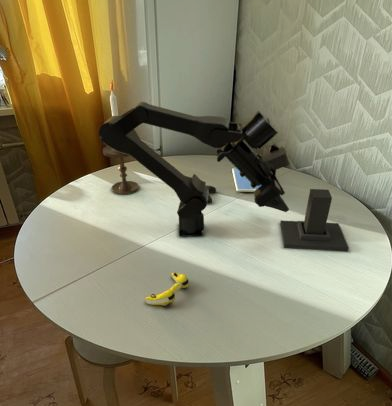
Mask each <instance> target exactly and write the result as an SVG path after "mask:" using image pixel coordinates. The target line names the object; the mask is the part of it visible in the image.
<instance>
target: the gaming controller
mask: <svg viewBox="0 0 392 406" xmlns="http://www.w3.org/2000/svg"><path fill="white" fill-rule="evenodd" d="M205 185H206V184H205ZM206 186H207V188H208V192H209V194H208V201H207V205H208V204H209V205H210V204H212V203H213V198H212V197H211V195H210V194H215V193H217V187H215V186H213V185H206Z"/></svg>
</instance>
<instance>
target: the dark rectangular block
mask: <svg viewBox="0 0 392 406" xmlns="http://www.w3.org/2000/svg"><path fill="white" fill-rule="evenodd" d="M332 200H333V197H332V194H331V193H330V190H329V189H320V188H310V189H309V194H308V199H307V204H306V209H305V216H304V220H303V221H304V226H303V230H304V234H315V235H324V231H325V227H326V223H328V218H329V213H330V209H331V204H332Z"/></svg>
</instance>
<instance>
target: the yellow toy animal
mask: <svg viewBox="0 0 392 406" xmlns="http://www.w3.org/2000/svg"><path fill="white" fill-rule="evenodd" d="M171 277H172V279H173V281H175V283H174V284H173V286H172V287H170V288H169V289H168V290H165V291H163V292H162V293H159V294H154V293H152V294H151V295H149V296H147V297H145V298H144V299H145V300H144V301H145V302H146V304H147V305H151V306H162V307H163V306H165V307H167V306H168V305H171V304H173V302H174V301H175V299H176V294H177V293H178V291H179V290H180V289H185V288H188V286H189V283H190V281H189V279H188V277H187V276H186V274H184V273H177V272H172V273H171Z"/></svg>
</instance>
